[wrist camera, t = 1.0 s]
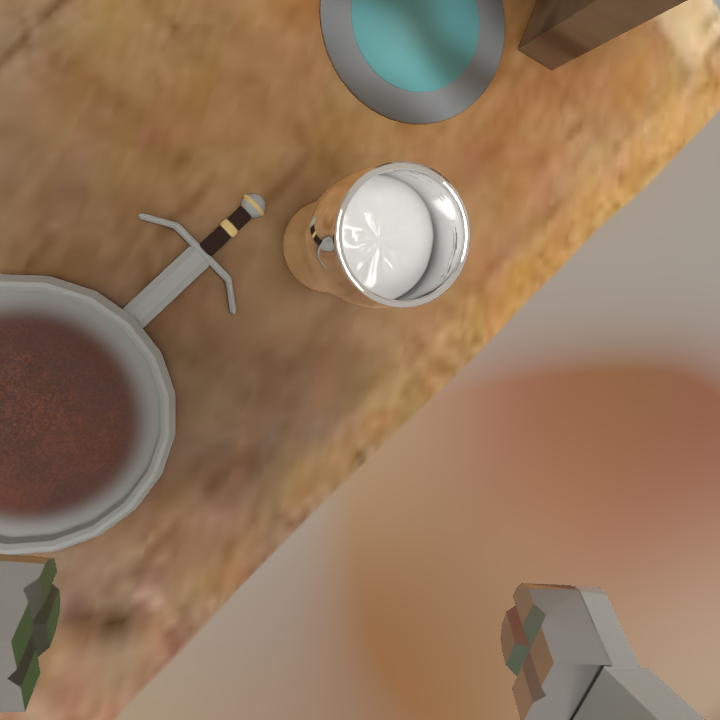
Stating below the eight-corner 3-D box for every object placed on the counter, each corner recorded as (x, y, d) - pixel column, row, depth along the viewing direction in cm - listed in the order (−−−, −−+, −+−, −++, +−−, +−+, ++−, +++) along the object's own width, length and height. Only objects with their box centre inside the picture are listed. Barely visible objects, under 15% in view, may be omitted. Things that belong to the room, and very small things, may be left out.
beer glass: (256, 267, 43) (302, 265, 28) (306, 173, 43) (377, 124, 28) (347, 316, 45) (431, 339, 31) (394, 227, 45) (500, 207, 31)
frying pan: (355, 295, 43) (30, 618, 39) (343, 294, 46) (38, 596, 42) (163, 81, 38) (-231, 428, 34) (162, 94, 41) (-202, 417, 37)
